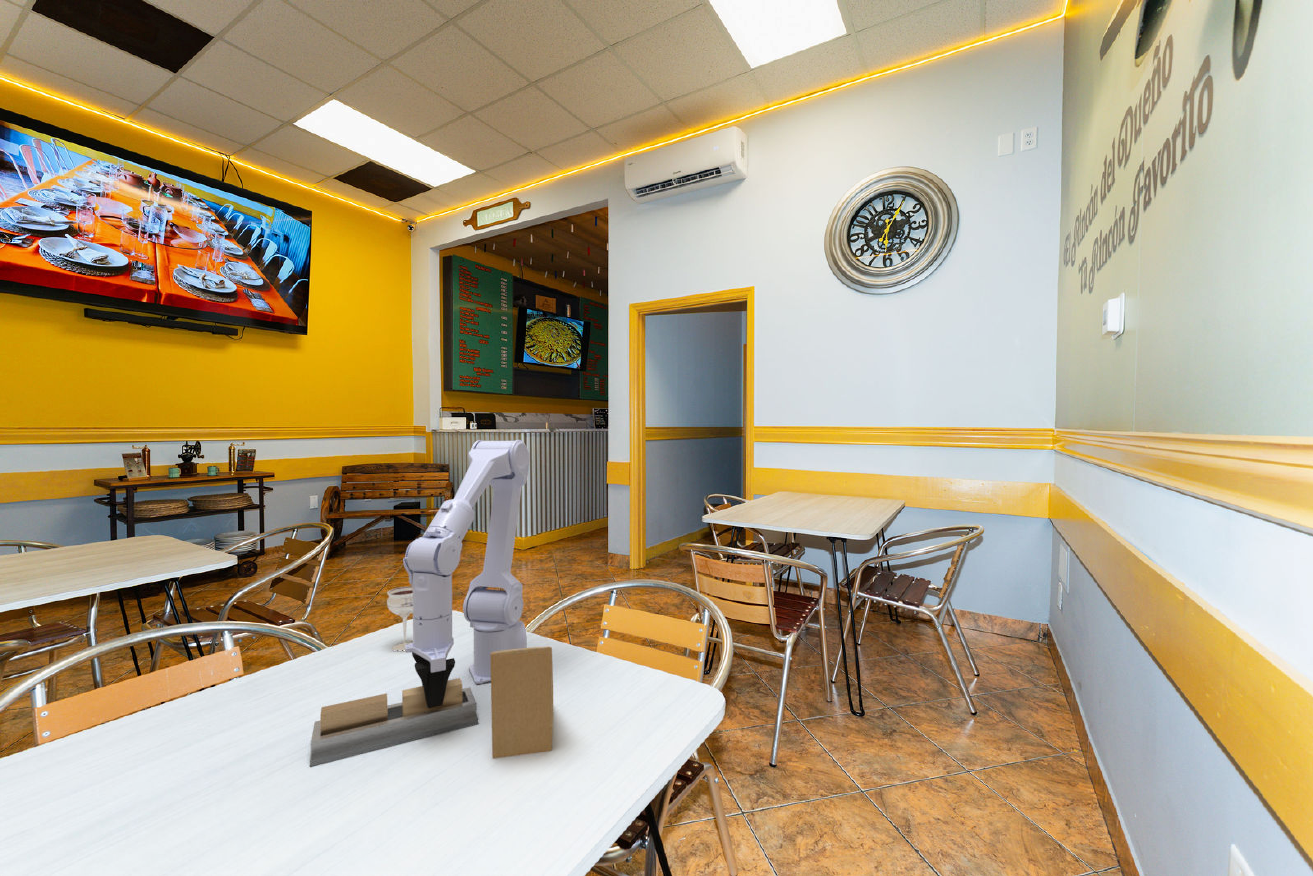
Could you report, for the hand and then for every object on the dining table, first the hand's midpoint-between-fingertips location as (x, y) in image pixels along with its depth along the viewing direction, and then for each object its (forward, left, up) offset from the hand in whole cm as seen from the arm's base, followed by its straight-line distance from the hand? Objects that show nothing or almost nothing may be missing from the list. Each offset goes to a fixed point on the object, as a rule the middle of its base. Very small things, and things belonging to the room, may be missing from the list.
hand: (433, 700), depth 84 cm
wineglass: (+2, -35, -3) cm, 35 cm away
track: (+5, 0, -3) cm, 6 cm away
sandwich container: (-12, +9, -4) cm, 15 cm away
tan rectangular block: (0, 0, -2) cm, 2 cm away
